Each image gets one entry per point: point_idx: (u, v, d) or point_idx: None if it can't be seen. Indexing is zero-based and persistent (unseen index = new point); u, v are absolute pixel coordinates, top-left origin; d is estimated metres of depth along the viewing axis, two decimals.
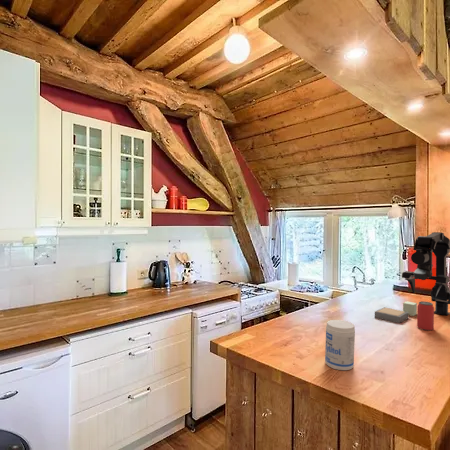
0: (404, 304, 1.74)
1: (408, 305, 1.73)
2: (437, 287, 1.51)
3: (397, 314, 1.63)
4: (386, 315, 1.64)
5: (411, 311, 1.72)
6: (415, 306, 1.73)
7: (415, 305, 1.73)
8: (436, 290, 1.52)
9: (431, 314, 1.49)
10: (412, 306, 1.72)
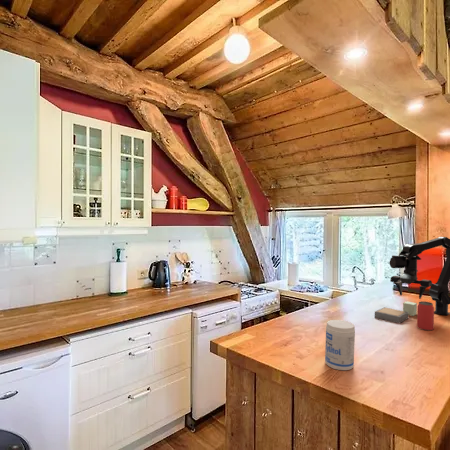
0: (404, 304, 1.74)
1: (408, 305, 1.73)
2: (421, 290, 1.69)
3: (397, 314, 1.63)
4: (386, 315, 1.64)
5: (411, 311, 1.72)
6: (415, 306, 1.73)
7: (415, 305, 1.73)
8: (420, 293, 1.70)
9: (431, 314, 1.49)
10: (412, 306, 1.71)
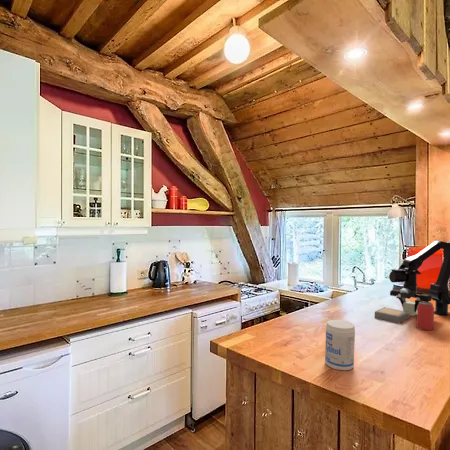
0: (404, 304, 1.74)
1: (408, 305, 1.73)
2: (416, 304, 1.71)
3: (397, 314, 1.63)
4: (386, 315, 1.64)
5: (411, 311, 1.72)
6: None
7: None
8: (416, 307, 1.71)
9: (431, 314, 1.49)
10: (412, 306, 1.71)
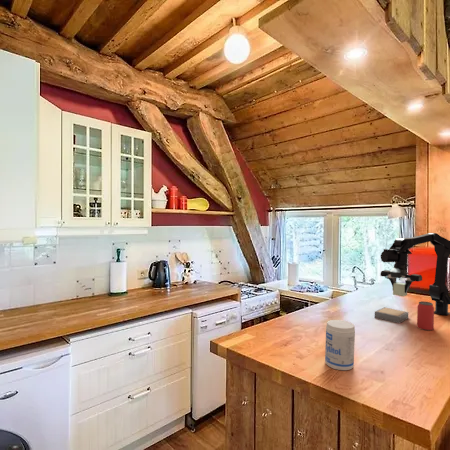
0: (394, 284, 1.71)
1: (398, 285, 1.69)
2: (407, 284, 1.67)
3: (397, 314, 1.63)
4: (386, 315, 1.64)
5: (401, 291, 1.68)
6: None
7: None
8: (406, 287, 1.68)
9: (431, 314, 1.49)
10: (402, 286, 1.68)
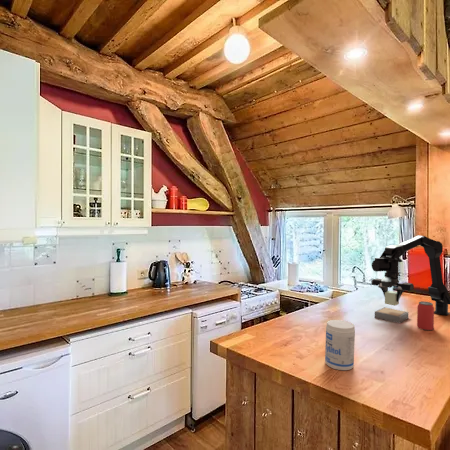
0: (386, 293, 1.68)
1: (390, 294, 1.66)
2: (398, 293, 1.64)
3: (397, 314, 1.63)
4: (386, 315, 1.64)
5: (393, 300, 1.65)
6: None
7: None
8: (398, 296, 1.65)
9: (431, 314, 1.49)
10: (394, 295, 1.65)
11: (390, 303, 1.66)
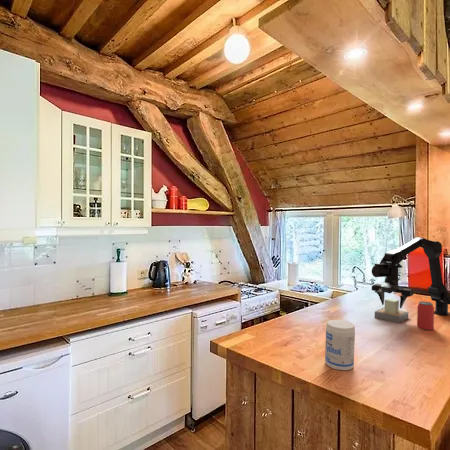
0: (386, 301, 1.68)
1: (390, 302, 1.66)
2: (402, 300, 1.63)
3: (397, 314, 1.63)
4: (386, 315, 1.64)
5: (393, 308, 1.65)
6: (397, 303, 1.67)
7: (397, 302, 1.67)
8: (401, 302, 1.64)
9: (431, 314, 1.49)
10: (394, 303, 1.65)
11: (390, 311, 1.66)
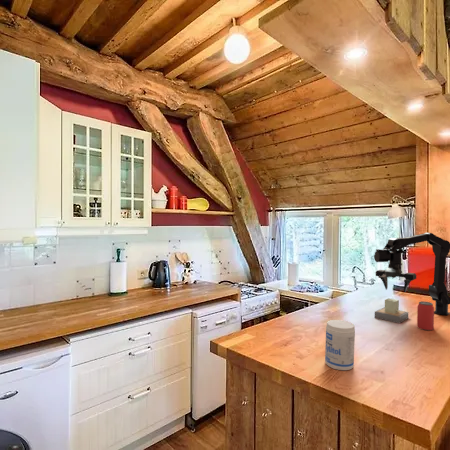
0: (386, 301, 1.68)
1: (390, 302, 1.66)
2: (406, 283, 1.69)
3: (397, 314, 1.63)
4: (386, 315, 1.64)
5: (393, 308, 1.65)
6: (397, 303, 1.67)
7: (397, 302, 1.67)
8: (405, 286, 1.70)
9: (431, 314, 1.49)
10: (394, 303, 1.65)
11: (390, 311, 1.66)
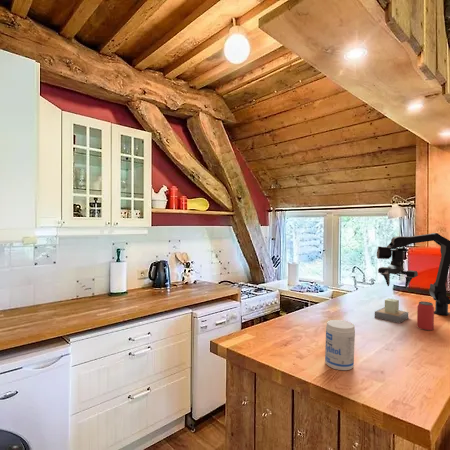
0: (386, 301, 1.68)
1: (390, 302, 1.66)
2: (407, 280, 1.75)
3: (397, 314, 1.63)
4: (386, 315, 1.64)
5: (393, 308, 1.65)
6: (397, 303, 1.67)
7: (397, 302, 1.67)
8: (406, 283, 1.76)
9: (431, 314, 1.49)
10: (394, 303, 1.65)
11: (390, 311, 1.66)
